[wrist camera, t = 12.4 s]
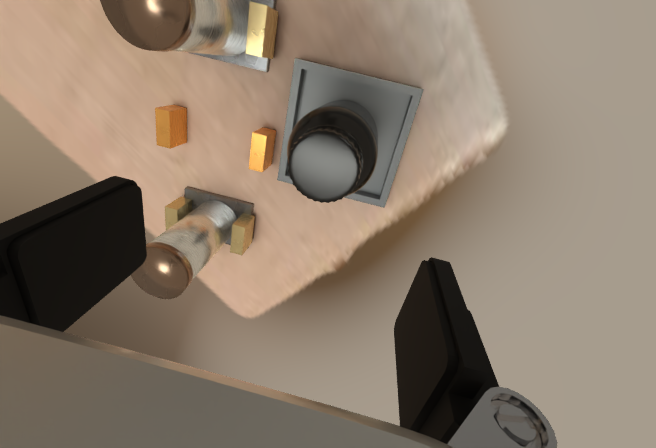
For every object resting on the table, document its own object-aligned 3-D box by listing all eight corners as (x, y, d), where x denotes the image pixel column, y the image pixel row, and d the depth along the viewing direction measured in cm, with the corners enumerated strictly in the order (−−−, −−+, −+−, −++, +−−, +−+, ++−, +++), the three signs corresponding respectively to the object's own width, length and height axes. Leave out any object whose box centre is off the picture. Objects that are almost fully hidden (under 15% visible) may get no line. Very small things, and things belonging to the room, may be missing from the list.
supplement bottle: (392, 142, 30) (399, 182, 19) (336, 182, 32) (316, 236, 22) (349, 81, 28) (332, 87, 17) (294, 128, 31) (250, 158, 20)
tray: (299, 58, 28) (294, 58, 27) (421, 88, 28) (423, 89, 26) (282, 174, 34) (277, 180, 32) (384, 201, 33) (384, 207, 32)
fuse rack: (171, -30, 27) (38, -95, 16) (293, -1, 26) (237, -48, 16) (176, 227, 39) (101, 285, 28) (260, 249, 38) (216, 316, 28)
